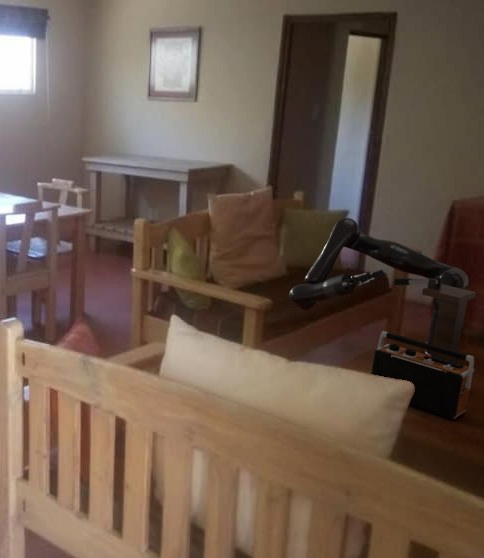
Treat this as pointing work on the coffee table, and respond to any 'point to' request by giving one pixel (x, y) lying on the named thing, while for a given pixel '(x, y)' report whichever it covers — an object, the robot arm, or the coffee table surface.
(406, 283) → the lever
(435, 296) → the stand
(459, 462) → the coffee table surface
